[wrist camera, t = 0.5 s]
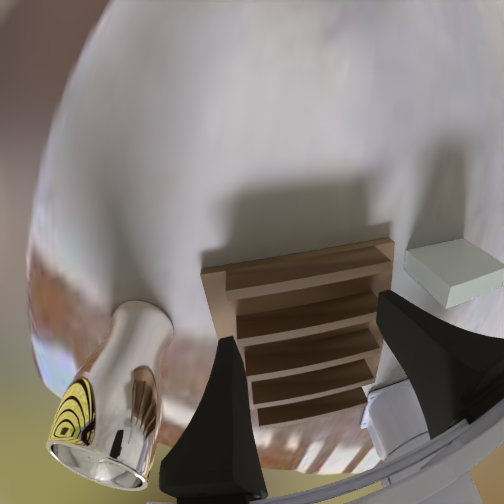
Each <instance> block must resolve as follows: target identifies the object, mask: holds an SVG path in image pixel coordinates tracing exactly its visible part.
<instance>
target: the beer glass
mask: <svg viewBox="0 0 504 504" xmlns="http://www.w3.org/2000/svg"><path fill="white" fill-rule="evenodd" d="M173 336H174V330H173V326H172V323H171V321H170V319H169V318H168V316H167V315H166V314H165V313H164V312H163V311H162V310H161V309H159V308H158V307H156V306H154V305H152V304H150V303H148V302H144V301H138V300H133V301H127V302H124V303H122V304H121V305H119V306H118V307H117V308H116V310H115V311H114V313H113V316H112V319H111V323H110V328H109V331H108V333H107V336H106V337H105V339H104V340H103V342H102V343H101V344H100V345H99V347H98V348H97V349H96V350H95V351H94V352H93V353H92V355H91V356H90V357H89V358H88V359H87V360H86V362H85V363H84V364H83V365H82V366H81V368H80V369H79V370H78V372H77V373H76V375H75V376H74V377H73V379H72V380H71V382H70V384H69V386H68V387H67V389H66V391H65V393H64V395H63V397H62V400H61V402H60V405H59V407H58V409H57V413H56V415H55V418H54V421H53V424H52V428H51V431H50V435H49V438H48V441H47V442H46V448H47V450H48V451H49V453H50V454H51V455H52V456H53V457H54V458H55V459H56V460H57V461H59V462H60V463H61V464H62V465H64V466H65V467H67V468H68V469H70V470H71V471H73V472H75V473H76V474H78V475H80V476H82V477H84V478H86V479H89V480H91V481H93V482H96V483H99V484H102V485H105V486H108V487H112V488H116V489H121V490H129V491H138V490H143V489H145V488H147V487H148V480H149V476H150V472H151V468H152V464H153V461H154V456H155V452H156V448H157V443H158V438H159V432H160V424H161V408H162V389H161V370H162V362H163V358H164V355H165V353H166V351H167V349H168V348H169V346H170V344H171V342H172V340H173Z"/></svg>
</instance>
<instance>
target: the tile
mask: <svg viewBox="0 0 504 504" xmlns="http://www.w3.org/2000/svg"><path fill="white" fill-rule="evenodd" d="M404 270H405V271H406V272H407V273H408V274H409V275H410V276H411V277H413V278H414V279H415V280H416V281H417V282H418V283H419V284H420V285H421V286H422V287H423V288H424V289H425V290H426V291H427V292H428V293H429V294H430V295H431V296H432V297H433V298H434V299H435V300H436V301H437V302H438V303H439V304H441V306H442V307H443V308H444V309H448V308H450V307H453V306H456V305H458V304H461V303H464V302H466V301H469V300H471V299H474V298H476V297H479V296H481V295H483V294H486V293H488V292H491V291H493V290H495V289H497V288H500V287H502V286H503V283H504V264H503V263H502V262H500V261H499V260H497V259H496V258H494V257H493V256H491V255H490V254H488V253H487V252H485V251H483V250H482V249H480V248H479V247H477V246H475V245H474V244H472V243H471V242H469V241H467V240H466V239H464V238H461V239H456V240H452V241H447V242H443V243H438V244H433V245H428V246H424V247H419V248H414V249H409V250H406V253H405V264H404Z"/></svg>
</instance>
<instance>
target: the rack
mask: <svg viewBox="0 0 504 504" xmlns="http://www.w3.org/2000/svg"><path fill="white" fill-rule="evenodd" d="M393 256H394V241H392V240H391V239H390V238H385V239H379V240H373V241H367V242H361V243H356V244H350V245H344V246H338V247H332V248H326V249H320V250H314V251H309V252H303V253H297V254H291V255H285V256H278V257H272V258H266V259H260V260H254V261H248V262H242V263H236V264H229V265H223V266H217V267H211V268H204V269H202V270H201V274H200V275H201V279H202V283H203V287H204V290H205V294H206V298H207V302H208V305H209V309H210V313H211V316H212V320H213V323H214V327H215V330H216V334H217V337H218V341H219V339H220V338H224V337H229V336H233V337H234V339H235V342H236V345H237V347H238V350H239V352H240V355H241V357H242V360H243V362H244V367H245V372H246V377H247V383H248V393H249V405H250V410H251V409H257V410H258V419H259V427H260V429H267V428H274V427H280V426H286V425H292V424H297V423H302V422H307V421H312V420H316V419H321V418H325V417H329V416H333V415H337V414H341V413H345V412H348V411H352V410H355V409H359V408H362V407H366V406H367V405H368V400H367V398H366V396H365V393H364V391H363V389H362V386H365V385H369V384H372V383H374V382H375V378H376V373H377V369H378V364H379V359H380V354H381V349H382V344H383V336H382V334H381V332H380V330H379V328H378V326H377V324H376V315H377V305H378V293H380V292H382V291H385V290H388V289H389V290H390V289H391V280H392V269H393Z"/></svg>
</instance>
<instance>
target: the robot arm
mask: <svg viewBox="0 0 504 504" xmlns="http://www.w3.org/2000/svg"><path fill="white" fill-rule="evenodd" d="M376 324H377V326H378V328H379V330H380V332H381V334H382V336H383V338H384V340H385V341H386V343H387V344H388V346H389V348H390V349H391V351H392V352H393V354H394V355H395V357H396V358H397V360H398V361H399V363H400V365H401V366H402V368H403V369H404V371H405V373H406V374H407V376H408V378H409V379H407V380H405V381H402V382H399V383H397V384H394V385H391V386H388V387H385V388H382V389H379V390H376V391H373V392H370V393H369V395H368V399H367V400H368V405H367V406H366V407H365V410H364V414H363V418H362V421H361V425H360V427H361V428H365V427H367V429H368V431H369V434H370V436H371V439H372V441H373V444H374V446H375V449H376V452H377V454H378V456H379V457H380V458H381V459H382V460H383V461H385V463H384V464H382V465H380V466H377V467H375V468H372V469H370V470H367V471H365V472H362V473H360V474H357V475H355V476H352V477H349V478H346V479H343V480H340V481H337V482H334V483H331V484H327V485H324V486H321V487H317V488H313V489H310V490H306V491H302V492H298V493H293V494H289V495H284V496H280V497H274V498H268V499H266V498H267V496H268V493H267V489H266V486H265V482H264V478H263V474H262V470H261V466H260V462H259V458H258V453H257V449H256V445H255V440H254V435H253V430H252V424H251V416H250V405H249V393H248V383H247V377H246V372H245V367H244V362H243V360H242V357H241V355H240V352H239V350H238V347H237V345H236V342H235V339H234V337H233V336H229V337H224V338H220V339H219V341H218V347H217V352H216V357H215V361H214V364H213V368H212V371H211V375H210V378H209V381H208V383H207V386H206V389H205V392H204V394H203V397H202V399H201V401H200V403H199V406H198V408H197V410H196V412H195V414H194V415H193V417H192V419H191V421H190V423H189V425H188V426H187V428H186V429H185V431H184V432H183V434H182V435H181V437H180V438H179V440H178V441H177V443H176V444H175V445H174V447H173V448H172V449H171V451H170V452H169V453H168V454H167V455H166V457H165V458H164V459H163V460H162V461H161V466H160V472H159V488H160V490H161V491H162V492H164V493H166V494H168V495H170V496H173V497H175V498H177V504H313V503H317V502H321V501H324V500H328V499H331V498H334V497H337V496H341V495H343V494H347V493H350V492H352V491H355V490H358V489H361V488H363V487H366V486H368V485H371V484H373V483H375V482H378V481H381V484H382V486H383V488H382V489H380V490H378V491H376V492H373V493H371V494H368V495H366V496H363V497H361V498H358V499H356V500H353V501H350V502H348V503H345V504H483V503H482V500H481V498H480V496H479V493H478V491H477V489H476V487H475V484H474V482H473V480H472V478H471V476H470V474H469V472H468V470H469V469H470V468H472V467H473V466H475V465H476V464H477V463H478V462H480V461H481V460H482V459H484V458H485V457H486V456H487V455H488V454H490V453H491V452H492V451H493V450H494V449H495V448H497V447H498V446H499V445H500V444H501V443H502V442H504V339H503V338H496V337H490V336H485V335H481V334H477V333H473V332H470V331H467V330H464V329H461V328H459V327H456V326H454V325H451V324H449V323H447V322H445V321H443V320H440V319H439V318H437V317H435V316H433V315H431V314H429V313H427V312H426V311H424V310H422V309H420V308H419V307H417V306H415V305H414V304H412V303H410V302H409V301H407V300H406V299H404V298H403V297H401V296H399V295H398V294H396V293H394V292H393V291H391V290H389V289H388V290H385V291H382V292H380V293H378V305H377V315H376ZM146 504H176V503H165V502H147V503H146Z"/></svg>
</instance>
